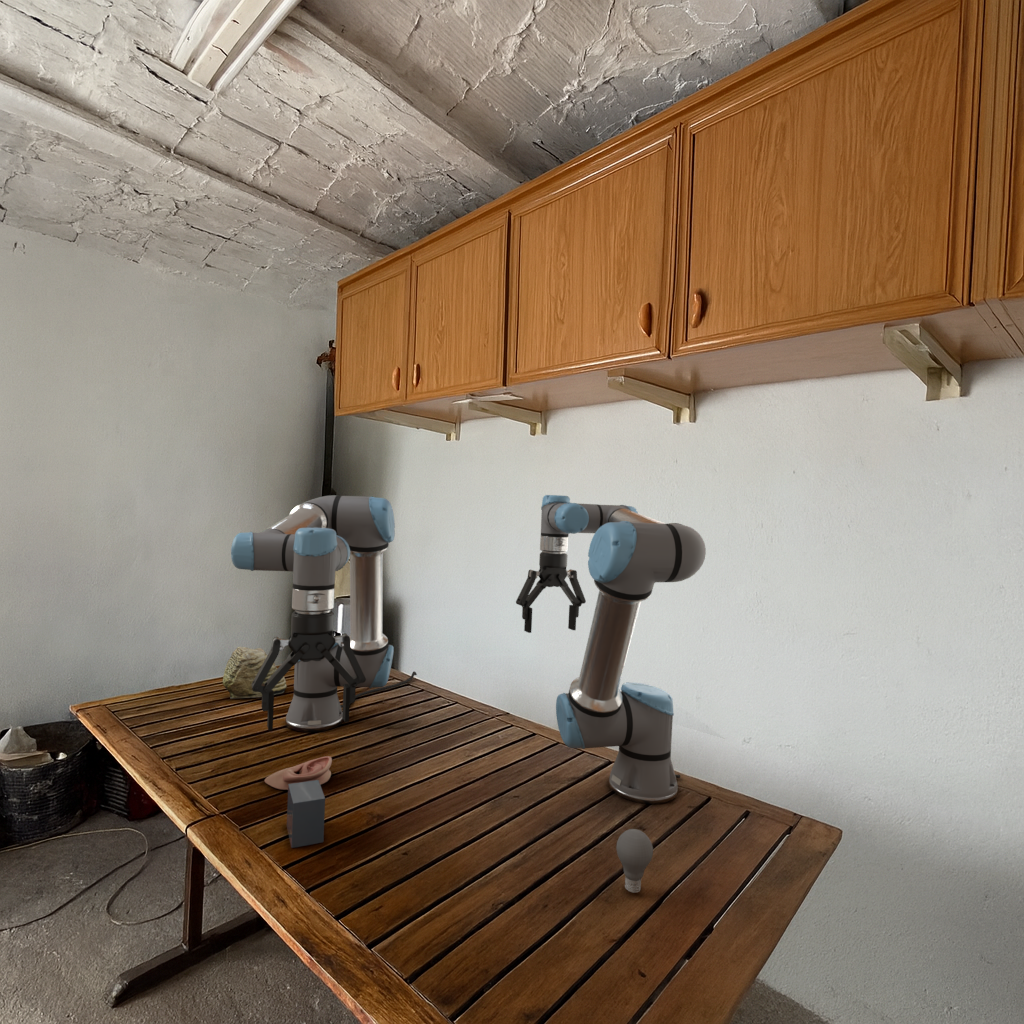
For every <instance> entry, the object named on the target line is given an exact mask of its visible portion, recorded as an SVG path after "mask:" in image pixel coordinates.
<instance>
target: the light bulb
mask: <svg viewBox="0 0 1024 1024" xmlns="http://www.w3.org/2000/svg"><path fill="white" fill-rule="evenodd" d="M615 849H616V854H617V857H618V859H619V861H620V863H621V865H622V867H623V873H624V874H623V875H624V876H625V878H624V888H625V890H627V891H628V892H630V893H634V894H635V893H639V892H640V891H641V889H642V887H641V886H642V879H643V877H644V875H645V871H646V868H647V867H648V866H649V864H650V863H651V861H652V859H653V855H654V847H653V843H652V841H651V838H649V836H648V835H647V834H646V833H645V832H643V831H642V830H641V829H636V828H629V829H627V830H625V831H623V832H622V833H621V834H620V835H619V837H618V839H617V841H616V847H615Z"/></svg>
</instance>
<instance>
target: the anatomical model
mask: <svg viewBox="0 0 1024 1024" xmlns="http://www.w3.org/2000/svg"><path fill="white" fill-rule="evenodd" d="M332 763H333V757H331V756H329V755H326V756H325V755H324V756H321V757H318V758H314V759H311V760H308V761H304V762H301V763H300V764H299V763H298V764H297V765H294V766H291V767H287V768H283V769H280V770H278V771H275V772H273V773H272V774H270V775H268V776H267V777H265V779H264V783H265V784H267V785H268V786H270V787H272V788H274V789H277V790H281V791H288V784H293V783H300V782H307V781H314V780H319V783H320V786H322V785H323V784H326V783H327V782H328V781H329V780H330V779H331V776H332V772H331V770H330V768H331V766H332Z"/></svg>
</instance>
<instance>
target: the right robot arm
mask: <svg viewBox="0 0 1024 1024" xmlns="http://www.w3.org/2000/svg"><path fill="white" fill-rule="evenodd" d="M540 509H541V515H540V516H541V519H540V538H539V539H540V541H539V543H540V544H539V551H541V552H540V553H539V559H538V560H539V569H538V570H534V569H529V570H528V572H527V578H526V580H525V582H524V584H523V586H522V588H521V590H520V592H519V595H518V596H517V598H516V600H515V604H516V605H518V606H521V608H522V610H521V612H522V613H521V618H522V620H524V626H523V627H524V629H523V631H524V632H526V633H528V634H531V633H532V629H533V628H532V627H533V607H531V606H532V605H533V603H534V602H535V601H536V600H537V598H538V597H539V595H541V593H542V592H543V591H544V590H545V589H546V588H547V587H548V588H553V587H556V588H560V589H561V590H562V592H563V593H564V594H565V596H566V597H567V599H568V600H569V602H570V604H568V622H567V623H568V626H567V628H568V629H569V630H570V631H576V629H577V618H579V616H580V607H581V606H582V605H583V604H586V602H587V601H586V598H585V595H584V592H583V589H582V587H581V584H580V582H579V580H578V572H577V570H575V569H571V568H570V569H568V570H567V567H568V553H566V552H568V551H569V550H568V549H569V547H568V546H569V536H570V534H571V535H572V534H573V535H574V534H593V536H592V539H591V541H590V544H589V548H588V553H587V556H588V560H587V568H588V572H589V575H590V576H591V578H592V579H593V583H594V585H595V587H596V588H597V589H598V594H597V598H596V603H595V608H594V611H593V616H592V620H591V625H590V630H589V632H588V633H589V634H588V638H587V642H586V647H585V651H584V656H583V660H582V664H581V668H580V672H579V676H578V677H576V678H574V679H573V680H572V681H571V683H570V684H569V685H570V686H569V689H568V692H567V693H566V692H563V693H560V694H558V695H557V697H556V702H555V715H556V716H555V717H556V722H557V728H558V732H559V734H560V738H561V740H562V742H563V743H564V745H565V746H566V747H568V748H570V749H581V750H586V749H596V748H597V749H598V748H610V747H611V748H613V747H618V752H617V754H616V757H615V759H614V763H613V765H612V767H611V769H610V773H609V779H608V785H609V788H610V790H611V791H612V792H614V794H616V795H618V796H619V797H621V798H623V799H626V800H628V801H631V802H636V803H641V804H648V805H650V804H652V805H653V804H665V803H668V802H671V801H674V799H675V798H677V796H678V780H677V779H680V778H681V775H680V774H676V773H675V769H674V766H673V765H674V764H673V762H672V739H673V720H674V719H673V718H674V715H675V713H674V699H673V697H672V695H671V693H669V692H668V691H666V690H664V689H662V688H659V687H657V686H654V685H650V684H646V683H641V682H634V681H627V682H623V684H621V687H620V683H621V681H622V680H621V679H622V676H623V673H624V668H625V664H626V661H627V657H628V653H629V649H630V645H631V642H632V638H633V634H634V631H635V627H636V622H637V619H638V616H639V611H640V606H641V603H642V602H643V601H646V600H648V599H649V598H650V597H651V595H652V594H653V593H652V592H653V589H654V586H655V584H656V583H678V582H682V581H685V580H688V579H689V578H691V577H693V576H694V575H696V573H698V571H700V569H701V567H702V566H703V564H704V562H705V559H706V555H707V551H706V550H707V549H706V548H707V547H706V545H705V544H706V543H705V541H704V538H703V537H702V536H701V534H700V533H699V532H698V531H697V530H696V529H694V528H693V527H691V526H688V525H685V524H682V523H678V522H670V523H665V522H663V521H660V520H657V519H654V518H652V517H649V516H646V515H644V514H640V513H639V511H637V508H635V507H634V506H632V505H626V504H594V503H577V502H571V498H570V497H569V496H568V495H560V494H559V495H558V494H545V495H544V496H543V497H542V500H541V506H540ZM538 578H539V580H538V581H537V582H536V579H538ZM567 578H568V579H569V582H570V585H571V588H572V590H573V591H572V590H571V588H570V586H569V584H568V583H567V581H566V579H567ZM535 582H536V584H535ZM534 584H535V586H534ZM533 586H534V588H533ZM619 687H620V689H619Z"/></svg>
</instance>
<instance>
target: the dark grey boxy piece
mask: <svg viewBox="0 0 1024 1024" xmlns="http://www.w3.org/2000/svg"><path fill="white" fill-rule="evenodd" d="M286 805H287V807H286V829H287V834H288V839H289V843H290V848H291V849H294V848H301V847H305V846H310V845H316V844H317V845H318V844H321V843H322V844H323V843H324V840H325V839H324V838H325V816H326V815H325V813H326V797H325V794H324V791H323V788H322V785H320V783H319V780H314V781H307V782H300V783H293V784H288V790H287V804H286Z"/></svg>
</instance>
